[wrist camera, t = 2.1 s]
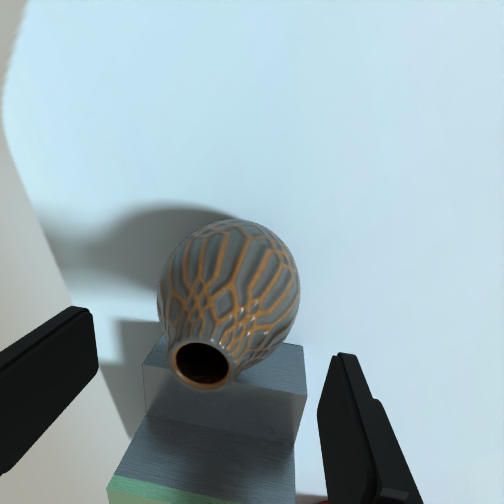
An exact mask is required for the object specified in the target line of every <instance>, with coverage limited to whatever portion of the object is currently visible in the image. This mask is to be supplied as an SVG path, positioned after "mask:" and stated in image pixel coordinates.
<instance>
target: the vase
mask: <svg viewBox="0 0 504 504" xmlns="http://www.w3.org/2000/svg"><path fill="white" fill-rule="evenodd" d="M299 302H300V280H299V275H298V270H297V267H296V264H295V261H294V258H293V256H292V254H291V252H290V251H289V249H288V248H287V246H286V245H285V244H284V243H283V241H282V240H281V239H280V238H279V237H278V236H277V235H276V234H274V233H273V232H272V231H270V230H269V229H267V228H265V227H264V226H262V225H259V224H257V223H254V222H251V221H247V220H240V219H228V220H221V221H216V222H213V223H210V224H207V225H205V226H203V227H201V228H200V229H198V230H196V231H195V232H193V233H192V234H191V235H189V236H188V237H187V238H185V239H184V240H183V241H182V242H181V243H180V244H179V245H178V246H177V247H176V249H175V250H174V251H173V253H172V254H171V256H170V257H169V259H168V261H167V263H166V265H165V267H164V269H163V272H162V275H161V278H160V281H159V286H158V291H157V312H158V317H159V321H160V325H161V328H162V331H163V333H164V336H165V339H166V341H167V350H166V362H167V366H168V368H169V370H170V372H171V374H172V375H173V376H174V378H175V379H176V380H177V381H179V382H180V383H181V384H183V385H184V386H186V387H188V388H190V389H193V390H196V391H200V392H217V391H220V390H223V389H225V388H227V387H228V386H230V385H231V384H232V383H233V382H234V381H235V379H236V378H237V377H238V376H239V375H240V373H241V372H242V371H244V370H247V369H249V368H251V367H253V366H254V365H256V364H258V363H260V362H262V361H263V360H265V359H266V358H268V357H269V356H270V355H271V354H273V353H274V352H275V351H276V350H277V349H278V348H279V347H280V345H281V344H282V343H283V341H284V340H285V339H286V337H287V335H288V334H289V332H290V330H291V328H292V326H293V324H294V321H295V318H296V315H297V312H298V308H299Z"/></svg>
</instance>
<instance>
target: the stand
mask: <svg viewBox="0 0 504 504" xmlns="http://www.w3.org/2000/svg"><path fill="white" fill-rule="evenodd" d="M166 350H167V341H166V339H165V336H164V333H163V335H162V336H161V338H160V339H159V341H158V342H157V344H156V345H155V346H154V348H153V349H152V351H151V352H150V354H149V355H148V357H147V358H146V360H145V361H144V363H143V364H142V368H143V381H144V394H145V407H146V415H145V417H144V419H143V421H142V423H141V425H140V426H139V428H138V430H137V432H136V434H135V436H134V438H133V439H132V441H131V443H130V445H129V447H128V449H127V451H126V452H125V454H124V456H123V458H122V460H121V462H120V464H119V465H118V467H117V469H116V471H115V473H114V475H113V477H112V479H111V480H110V482H109V484H108V486H107V488H106V489H107V494H108V499H109V504H296V496H295V463H294V443H295V440H296V436H297V432H298V429H299V425H300V421H301V418H302V414H303V410H304V407H305V403H306V400H307V385H306V374H305V364H304V353H303V346H298V345H292V344H286V343H282V344H281V345H280V347H279V348H278V349H277V350H276V351H275V352H274V353H273V354H271V355H270V356H269V357H268V358H266V359H265V360H263V361H262V362H260V363H258V364H256V365H254V366H253V367H251V368H249V369H247V370H244V371H242V372H241V373H240V375H239V376H238V377H237V378H236V379H235V381H234V382H233V383H232V384H231V385H230V386H228V387H227V388H225V389H223V390H220V391H217V392H200V391H196V390H193V389H190V388H188V387H186V386H184V385H183V384H181V383H180V382H179V381H177V380H176V379H175V378H174V376H173V375H172V374H171V372H170V370H169V368H168V366H167V362H166Z"/></svg>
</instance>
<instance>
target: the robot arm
mask: <svg viewBox="0 0 504 504" xmlns="http://www.w3.org/2000/svg"><path fill="white" fill-rule="evenodd" d="M98 368H99V364H98V356H97V348H96V340H95V332H94V323H93V316H92V314H91V313H90V311H89V310H88V309H87V308H82V307H76V306H70V307H68V308H66V309H65V310H64V311H62V312H60V313H59V314H57V315H56V316H54V317H53V318H51V319H50V320H48V321H47V322H45V323H44V324H42V325H41V326H39V327H37V328H36V329H34V330H33V331H31V332H30V333H28V334H27V335H25V336H24V337H22V338H21V339H19V340H18V341H16V342H15V343H13V344H12V345H10V346H9V347H7V348H6V349H4V350H3V351H1V352H0V476H1V475H2V474H3V473H6V472H8V471H9V470H10V469H11V468H12V467H14V465H15V464H16V463H17V462H18V461H19V460H20V459H21V458H22V457H23V455H24V454H25V453H26V452H27V451H28V450H29V449H30V448H31V447H32V445H33V444H34V443H35V442H36V441H37V440H38V439H39V438H40V436H41V435H42V434H43V433H44V432H45V431H46V430H47V429H48V427H49V426H50V425H51V424H52V423H53V422H54V421H55V420H56V419H57V417H58V416H59V415H60V414H61V413H62V412H63V411H64V409H66V407H67V406H68V405H69V404H70V403H71V402H72V401H73V400H74V399H75V397H76V396H77V395H78V394H79V393H80V392H81V391H82V390H83V388H84V387H85V386H86V385H87V384H88V383H89V382H90V380H92V378H93V377H94V376H95V375H96V373H97V371H98ZM317 422H318V429H319V436H320V444H321V451H322V458H323V466H324V473H325V480H326V488H327V495H328V502H329V504H424V503H423V501H422V498H421V496H420V494H419V491H418V489H417V486H416V484H415V482H414V479H413V477H412V474H411V472H410V470H409V467H408V465H407V463H406V460H405V458H404V455H403V453H402V451H401V448H400V446H399V443H398V441H397V439H396V436H395V434H394V431H393V429H392V427H391V424H390V422H389V419H388V417H387V415H386V412H385V410H384V408H383V406H382V404H381V402H380V401H379V400H378V399H373V397H372V395H371V392H370V390H369V387H368V384H367V382H366V379H365V377H364V374H363V372H362V369H361V366H360V364H359V361H358V359H357V357H356V355H353V354H347V353H342V352H339V353H338V354H337V356H334V355H333V356H332V358H331V362H330V366H329V369H328V373H327V376H326V380H325V383H324V387H323V390H322V394H321V397H320V401H319V404H318V408H317Z"/></svg>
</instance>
